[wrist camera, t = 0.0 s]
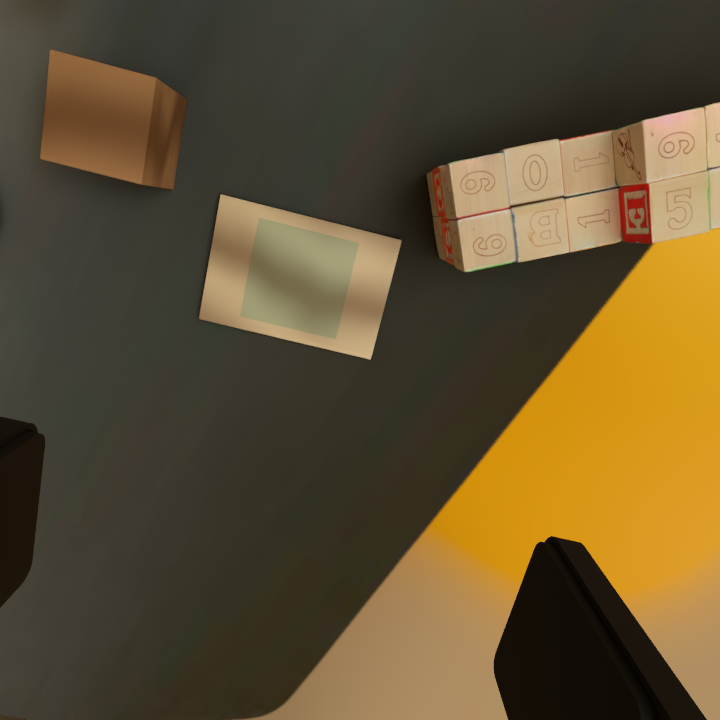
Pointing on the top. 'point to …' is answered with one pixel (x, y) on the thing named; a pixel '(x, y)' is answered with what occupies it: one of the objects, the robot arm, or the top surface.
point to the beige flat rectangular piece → (297, 277)
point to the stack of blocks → (581, 192)
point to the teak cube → (111, 121)
